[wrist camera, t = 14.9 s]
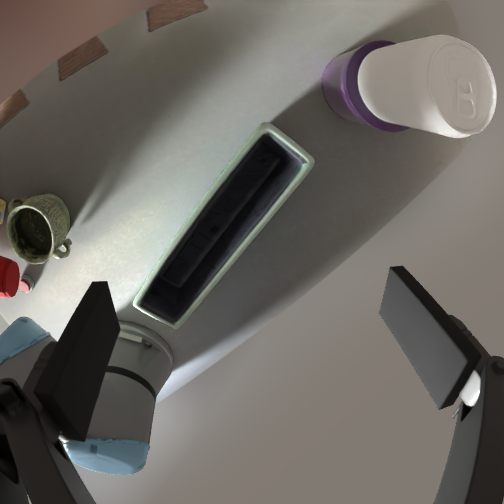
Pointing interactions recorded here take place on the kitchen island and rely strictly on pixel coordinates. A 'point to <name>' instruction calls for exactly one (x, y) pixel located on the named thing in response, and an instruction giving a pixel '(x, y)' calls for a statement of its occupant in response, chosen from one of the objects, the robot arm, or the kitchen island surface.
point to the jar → (352, 88)
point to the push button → (26, 284)
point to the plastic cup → (8, 277)
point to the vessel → (38, 228)
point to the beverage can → (430, 86)
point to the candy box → (2, 210)
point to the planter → (224, 224)
